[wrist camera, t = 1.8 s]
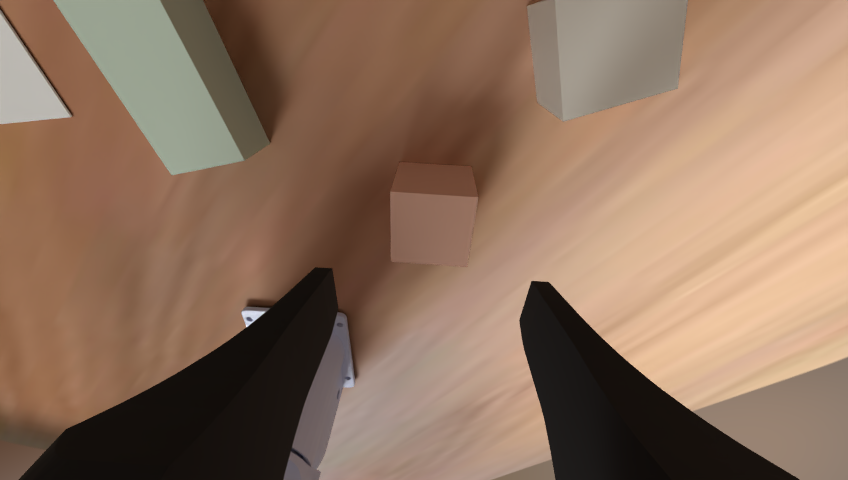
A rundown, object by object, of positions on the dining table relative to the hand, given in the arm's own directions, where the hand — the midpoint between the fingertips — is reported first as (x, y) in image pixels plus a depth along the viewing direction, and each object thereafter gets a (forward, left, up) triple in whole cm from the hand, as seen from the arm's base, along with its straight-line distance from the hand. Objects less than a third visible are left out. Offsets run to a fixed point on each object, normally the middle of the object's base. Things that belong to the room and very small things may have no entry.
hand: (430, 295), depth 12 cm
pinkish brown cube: (0, 0, -8) cm, 8 cm away
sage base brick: (+6, +12, -9) cm, 16 cm away
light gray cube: (+8, -6, -8) cm, 13 cm away
